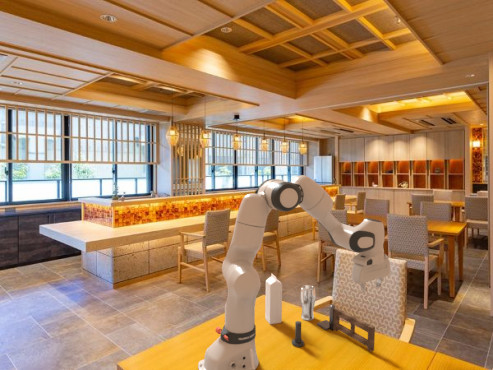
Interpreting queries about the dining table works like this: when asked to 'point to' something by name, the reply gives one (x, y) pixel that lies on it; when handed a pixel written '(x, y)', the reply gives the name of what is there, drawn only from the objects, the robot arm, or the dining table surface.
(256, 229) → the robot arm
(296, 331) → the post
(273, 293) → the milk
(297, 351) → the dining table surface
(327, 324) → the hinge post
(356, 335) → the gate
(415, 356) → the dining table surface
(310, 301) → the beer glass
